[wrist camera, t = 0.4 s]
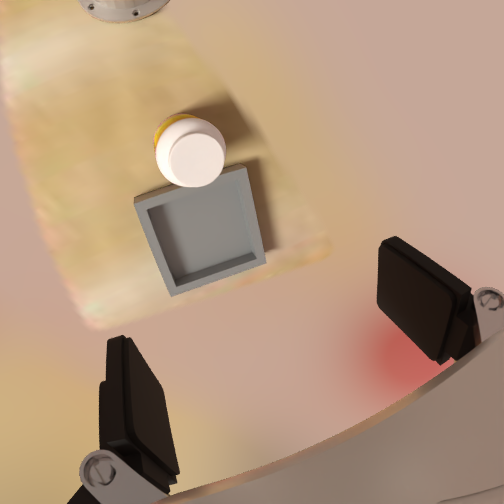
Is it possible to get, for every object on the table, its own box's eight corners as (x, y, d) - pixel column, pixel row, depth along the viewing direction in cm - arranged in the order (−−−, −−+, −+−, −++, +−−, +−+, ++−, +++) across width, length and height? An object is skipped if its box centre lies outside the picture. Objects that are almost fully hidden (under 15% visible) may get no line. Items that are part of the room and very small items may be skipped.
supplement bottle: (142, 134, 34) (140, 151, 23) (189, 102, 34) (210, 104, 24) (173, 177, 38) (186, 213, 27) (217, 147, 38) (250, 169, 27)
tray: (134, 197, 37) (133, 204, 35) (240, 163, 40) (246, 167, 38) (169, 286, 45) (171, 296, 43) (260, 254, 47) (266, 263, 45)
